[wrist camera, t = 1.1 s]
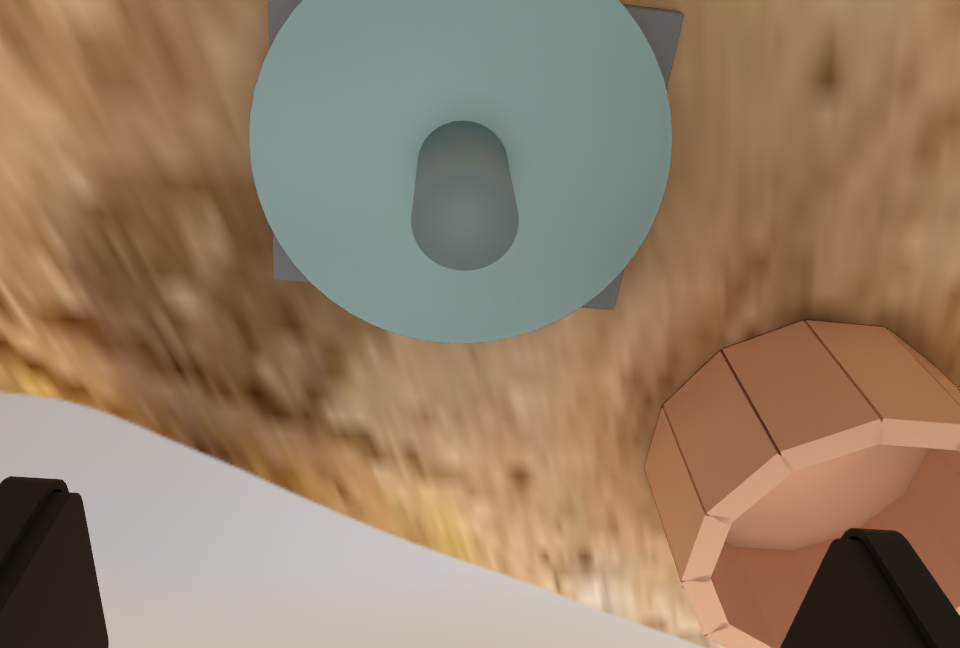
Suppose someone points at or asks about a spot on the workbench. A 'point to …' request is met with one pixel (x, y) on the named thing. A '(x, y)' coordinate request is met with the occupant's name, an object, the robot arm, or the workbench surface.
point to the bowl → (802, 469)
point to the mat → (657, 30)
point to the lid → (460, 157)
